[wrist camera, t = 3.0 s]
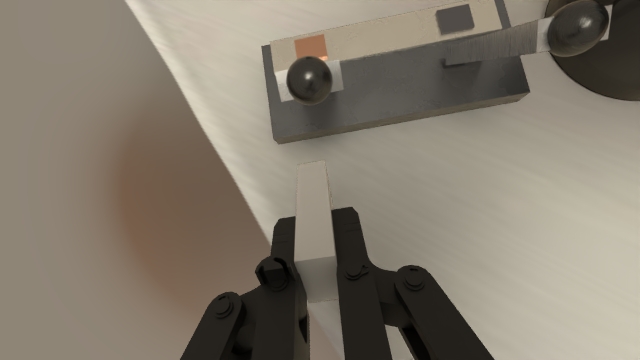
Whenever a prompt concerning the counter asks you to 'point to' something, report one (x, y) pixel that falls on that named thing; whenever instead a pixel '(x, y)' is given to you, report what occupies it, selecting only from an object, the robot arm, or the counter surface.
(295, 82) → the outer lever
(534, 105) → the counter surface
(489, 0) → the switch base
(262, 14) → the counter surface
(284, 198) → the counter surface
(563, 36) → the inner lever
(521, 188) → the counter surface
